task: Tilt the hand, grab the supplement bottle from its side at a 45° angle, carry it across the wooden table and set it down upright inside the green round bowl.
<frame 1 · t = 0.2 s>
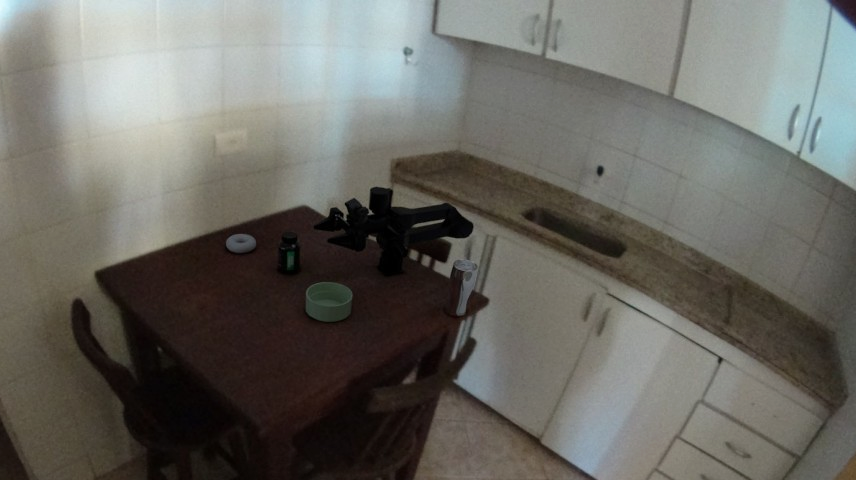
hand: (320, 233, 176), 17 cm above the table, tool horizontal, fingers open, 9 cm apart
donut: (241, 248, 203), on the table
beer glass: (455, 311, 176), on the table
supplement bottle: (288, 269, 193), on the table
green round bowl: (328, 310, 174), on the table
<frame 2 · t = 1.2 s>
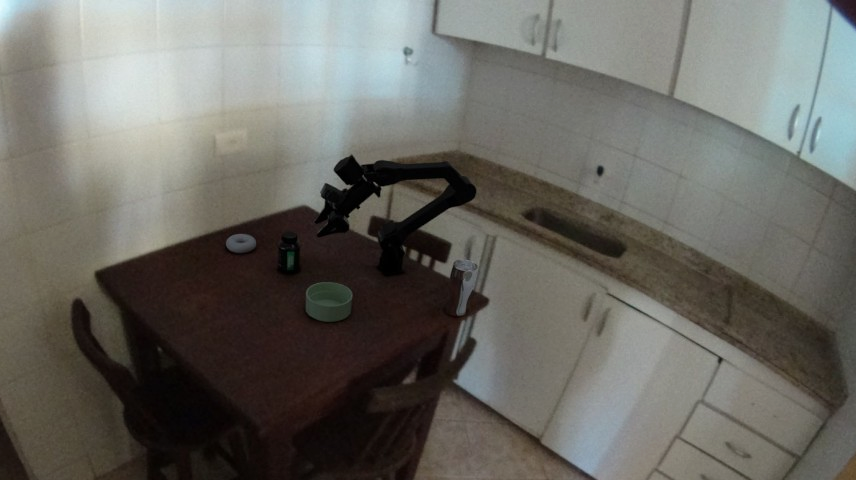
hand: (316, 229, 185), 14 cm above the table, tool tilted 45°, fingers open, 9 cm apart
nothing on the table moved.
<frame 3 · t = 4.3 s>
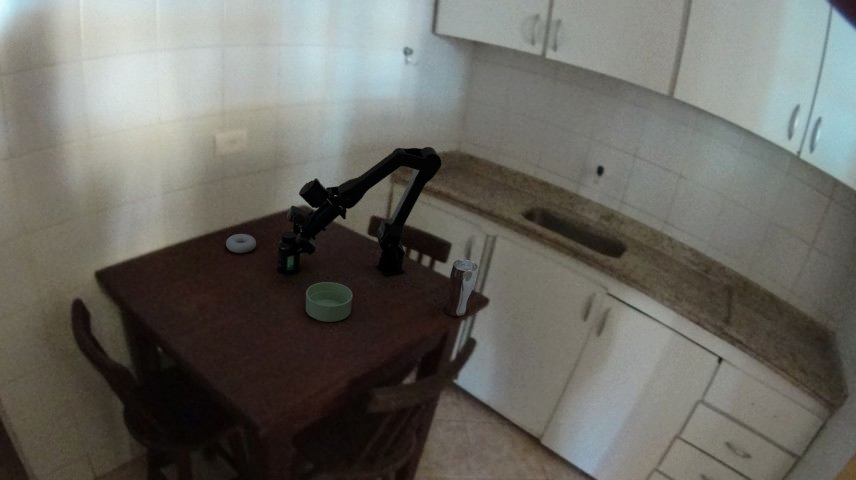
hand: (284, 250, 189), 7 cm above the table, tool tilted 45°, fingers closed on supplement bottle, 7 cm apart
supplement bottle: (288, 269, 193), on the table, touching gripper
everything else where it was.
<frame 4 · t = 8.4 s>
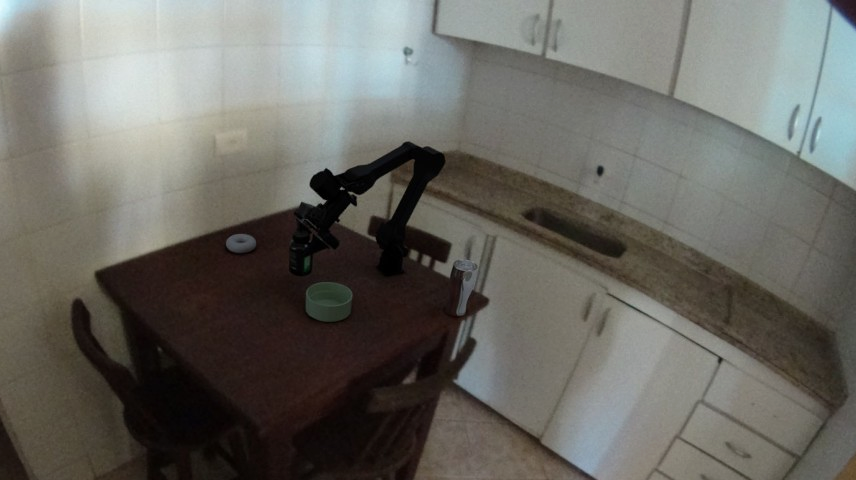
hand: (296, 251, 174), 13 cm above the table, tool tilted 45°, fingers closed on supplement bottle, 7 cm apart
supplement bottle: (300, 271, 179), point 6 cm above the table, touching gripper
everything else where it was.
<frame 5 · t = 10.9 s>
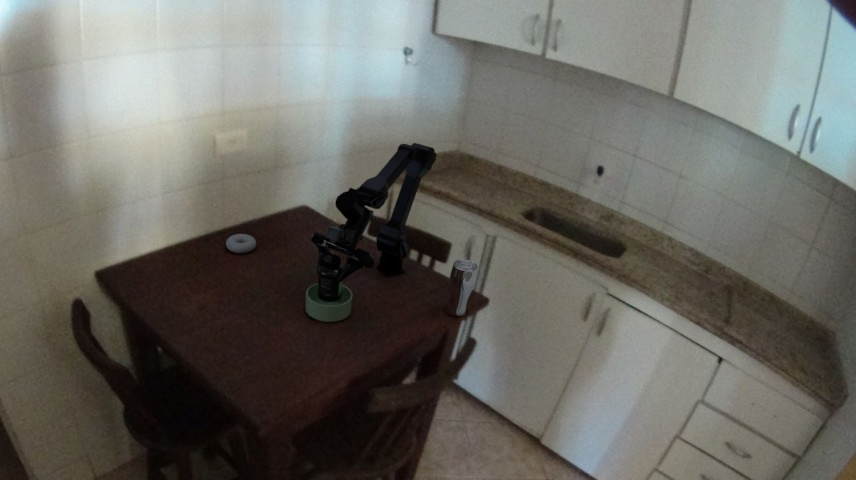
hand: (327, 277, 167), 11 cm above the table, tool tilted 45°, fingers closed on supplement bottle, 7 cm apart
supplement bottle: (329, 296, 172), point 4 cm above the table, touching gripper
everything else where it was.
when the fingers open (7 cm above the table, at t = 12.7 s): supplement bottle stays where it is, resting on green round bowl.
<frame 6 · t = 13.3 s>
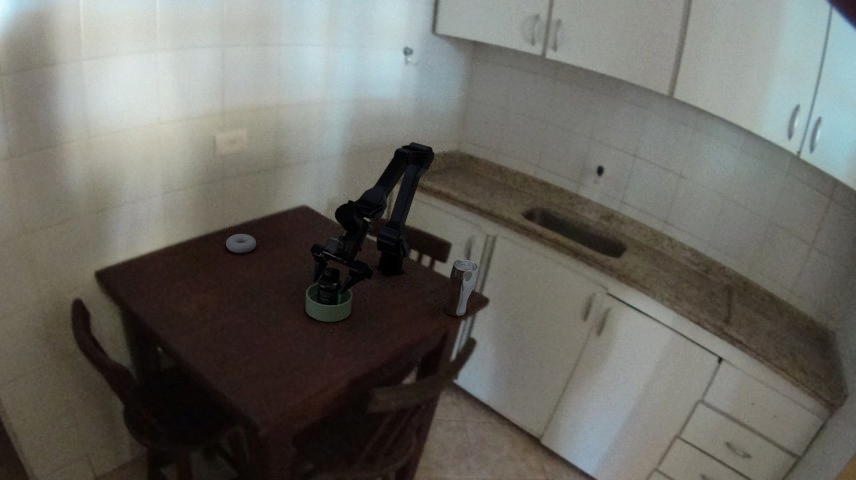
hand: (326, 288, 169), 8 cm above the table, tool tilted 45°, fingers open, 9 cm apart
supplement bottle: (328, 309, 174), resting on green round bowl
everything else where it was.
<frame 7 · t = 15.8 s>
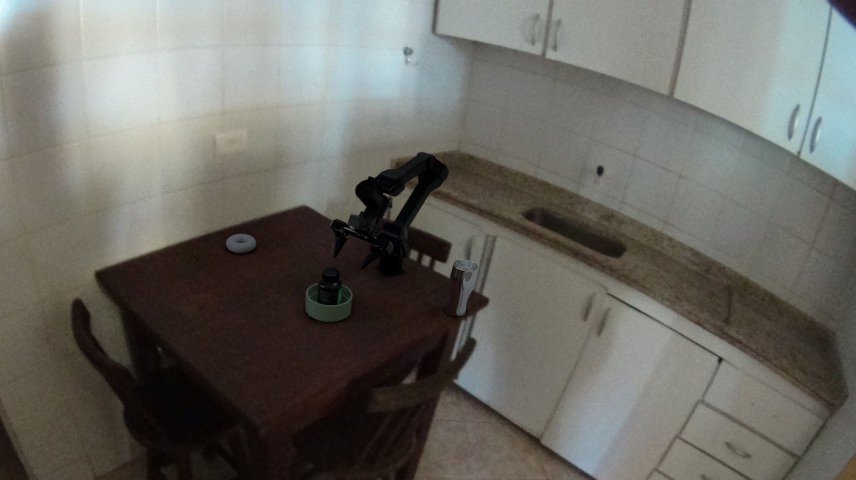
hand: (347, 263, 173), 12 cm above the table, tool tilted 45°, fingers open, 9 cm apart
nothing on the table moved.
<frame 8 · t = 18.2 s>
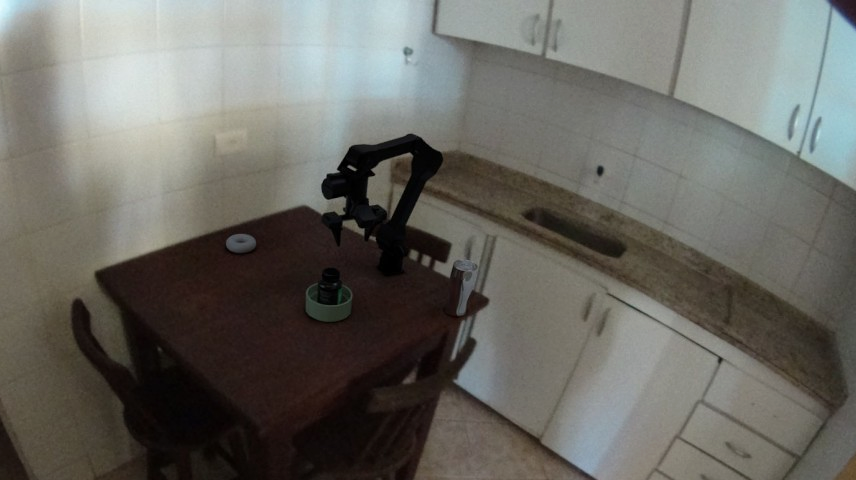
hand: (352, 243, 180), 13 cm above the table, tool pointing down, fingers open, 9 cm apart
nothing on the table moved.
at the end: supplement bottle 0.1 cm off-centre in the green round bowl, point 0.3 cm above the green round bowl's base; supplement bottle tilted 0°; the gripper is holding nothing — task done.
